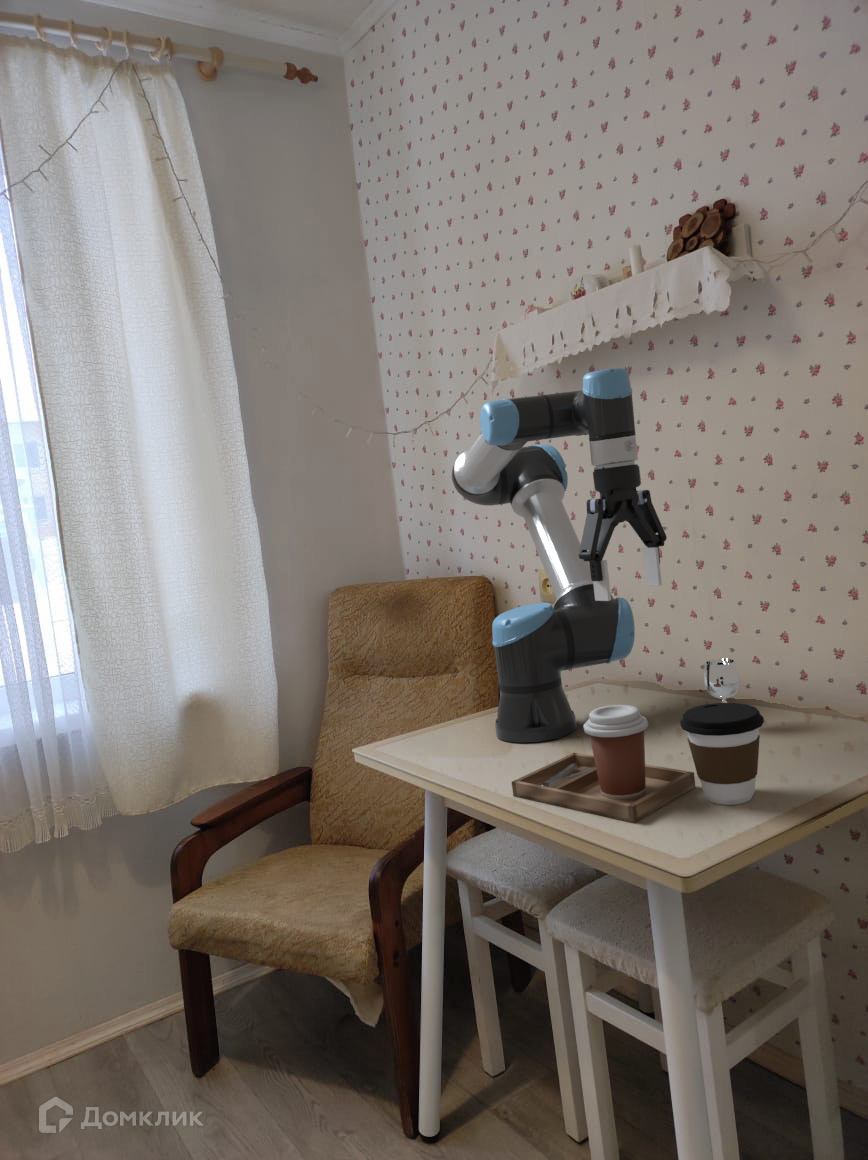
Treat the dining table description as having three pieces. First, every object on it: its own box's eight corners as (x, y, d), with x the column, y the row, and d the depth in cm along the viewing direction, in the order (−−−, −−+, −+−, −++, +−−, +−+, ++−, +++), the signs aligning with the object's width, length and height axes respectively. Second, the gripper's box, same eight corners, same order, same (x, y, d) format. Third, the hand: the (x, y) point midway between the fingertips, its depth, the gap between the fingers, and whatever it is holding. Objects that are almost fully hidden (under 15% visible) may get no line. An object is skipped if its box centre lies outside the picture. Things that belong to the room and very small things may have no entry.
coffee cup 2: (677, 790, 128) (668, 708, 127) (751, 778, 129) (742, 697, 128) (705, 817, 117) (696, 728, 116) (786, 804, 118) (777, 715, 117)
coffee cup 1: (607, 778, 135) (598, 701, 134) (665, 783, 130) (656, 703, 129) (580, 799, 128) (570, 718, 127) (640, 806, 123) (630, 721, 122)
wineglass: (740, 724, 155) (733, 656, 154) (748, 733, 149) (741, 663, 148) (706, 727, 155) (699, 660, 154) (713, 737, 150) (706, 667, 149)
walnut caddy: (513, 795, 135) (511, 781, 135) (575, 765, 145) (574, 752, 145) (634, 823, 119) (632, 807, 118) (695, 787, 128) (693, 772, 128)
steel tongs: (553, 796, 131) (553, 789, 131) (528, 790, 135) (527, 783, 135) (598, 773, 138) (597, 766, 138) (573, 769, 142) (572, 762, 142)
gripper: (583, 470, 136) (598, 607, 138) (679, 456, 151) (691, 579, 154) (547, 475, 141) (562, 606, 144) (643, 460, 157) (655, 579, 160)
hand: (629, 592), depth 149 cm, fingers open, 13 cm apart
